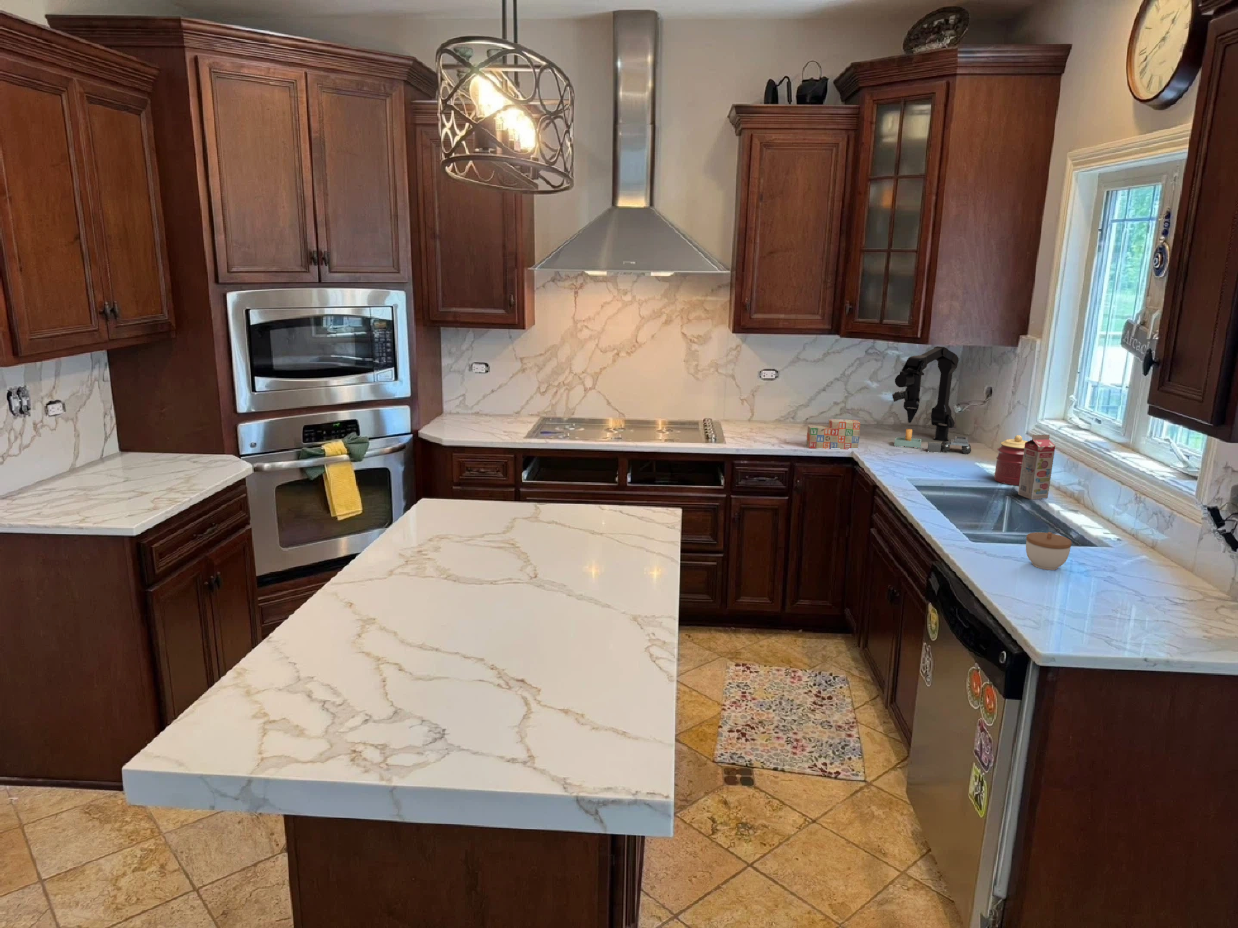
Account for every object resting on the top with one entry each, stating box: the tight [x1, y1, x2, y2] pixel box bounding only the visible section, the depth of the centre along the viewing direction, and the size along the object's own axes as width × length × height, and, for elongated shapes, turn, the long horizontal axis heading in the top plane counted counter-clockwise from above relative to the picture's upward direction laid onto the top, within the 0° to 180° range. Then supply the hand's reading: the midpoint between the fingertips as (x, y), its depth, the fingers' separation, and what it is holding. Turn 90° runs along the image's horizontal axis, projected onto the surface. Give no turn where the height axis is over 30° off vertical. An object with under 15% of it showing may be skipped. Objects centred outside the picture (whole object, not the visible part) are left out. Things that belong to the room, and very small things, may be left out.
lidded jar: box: [1025, 531, 1073, 571], centre depth 220 cm, size 11×11×9 cm
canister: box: [993, 434, 1029, 486], centre depth 306 cm, size 13×13×18 cm
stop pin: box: [904, 428, 913, 441], centre depth 366 cm, size 3×3×7 cm
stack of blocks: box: [805, 418, 861, 450], centre depth 359 cm, size 21×6×12 cm, turn 88°
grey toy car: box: [940, 435, 972, 455], centre depth 357 cm, size 8×12×6 cm, turn 69°
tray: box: [893, 436, 922, 449], centre depth 366 cm, size 6×11×3 cm, turn 69°
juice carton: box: [1017, 434, 1056, 500], centre depth 286 cm, size 7×7×22 cm
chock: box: [927, 442, 942, 453], centre depth 357 cm, size 4×5×4 cm
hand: (909, 421), depth 364 cm, fingers open, 9 cm apart
